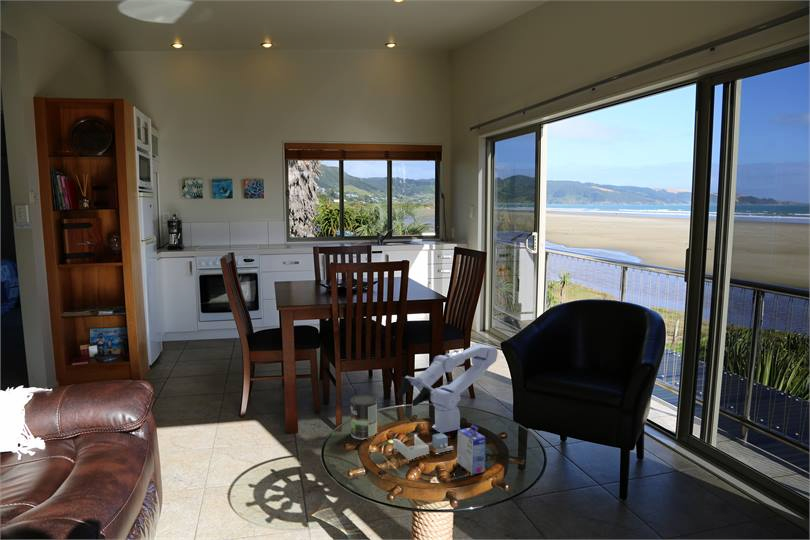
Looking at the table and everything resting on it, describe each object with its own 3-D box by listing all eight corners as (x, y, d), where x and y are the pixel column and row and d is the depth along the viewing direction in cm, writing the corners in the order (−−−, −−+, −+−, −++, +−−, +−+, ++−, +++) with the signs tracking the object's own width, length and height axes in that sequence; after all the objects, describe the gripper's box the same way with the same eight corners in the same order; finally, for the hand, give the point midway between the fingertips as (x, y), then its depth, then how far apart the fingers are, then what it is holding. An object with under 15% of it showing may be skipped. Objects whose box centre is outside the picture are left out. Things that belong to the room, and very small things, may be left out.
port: (416, 444, 214) (416, 432, 213) (431, 456, 203) (431, 444, 203) (392, 449, 209) (392, 438, 209) (406, 462, 199) (406, 450, 199)
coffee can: (355, 441, 216) (354, 405, 214) (347, 431, 226) (347, 397, 224) (381, 437, 220) (380, 402, 218) (372, 427, 230) (372, 393, 228)
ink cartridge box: (486, 471, 192) (486, 430, 190) (472, 475, 190) (472, 434, 188) (469, 459, 201) (469, 420, 199) (456, 463, 198) (456, 423, 196)
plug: (442, 445, 211) (442, 432, 210) (449, 451, 206) (449, 437, 206) (432, 448, 209) (432, 434, 208) (439, 453, 204) (439, 440, 204)
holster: (443, 444, 213) (443, 439, 212) (453, 452, 207) (453, 446, 206) (427, 448, 210) (426, 443, 209) (436, 456, 203) (436, 450, 203)
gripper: (413, 363, 221) (389, 384, 213) (442, 377, 212) (418, 400, 204) (416, 376, 224) (392, 398, 217) (444, 390, 215) (421, 413, 208)
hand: (405, 399), depth 211 cm, fingers open, 7 cm apart
